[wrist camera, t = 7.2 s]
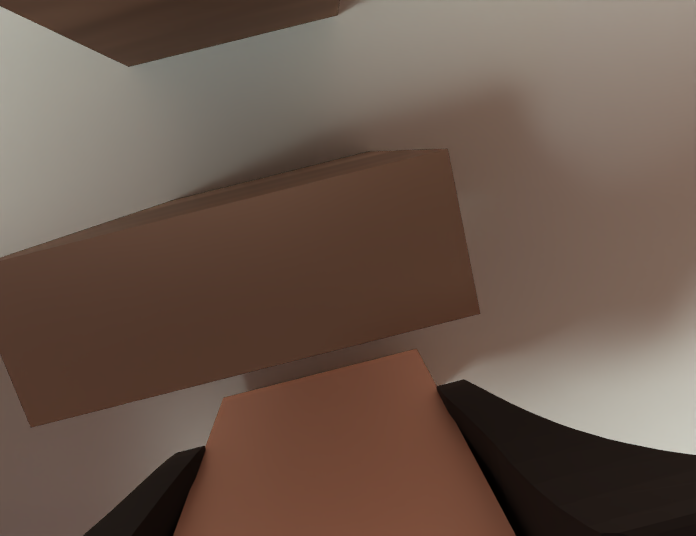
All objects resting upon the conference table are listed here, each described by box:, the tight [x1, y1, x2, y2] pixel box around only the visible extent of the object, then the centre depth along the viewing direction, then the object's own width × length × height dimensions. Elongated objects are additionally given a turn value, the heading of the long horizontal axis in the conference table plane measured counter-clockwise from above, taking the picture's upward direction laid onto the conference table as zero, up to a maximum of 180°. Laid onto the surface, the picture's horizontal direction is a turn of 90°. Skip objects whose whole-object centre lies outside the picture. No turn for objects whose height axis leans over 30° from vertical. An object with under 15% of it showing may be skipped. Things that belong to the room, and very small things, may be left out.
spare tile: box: [173, 349, 516, 536], centre depth 10 cm, size 2×5×8 cm, turn 103°
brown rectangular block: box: [0, 149, 480, 428], centre depth 10 cm, size 2×5×8 cm, turn 104°
